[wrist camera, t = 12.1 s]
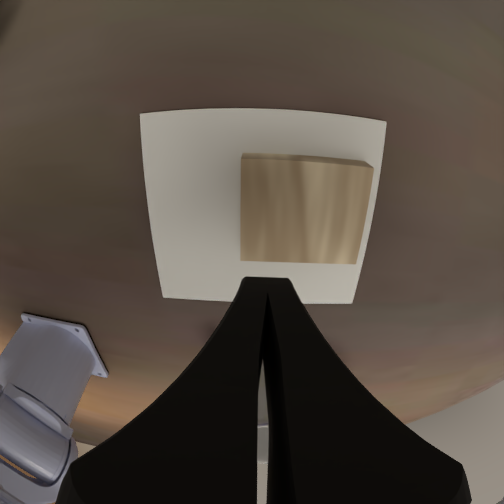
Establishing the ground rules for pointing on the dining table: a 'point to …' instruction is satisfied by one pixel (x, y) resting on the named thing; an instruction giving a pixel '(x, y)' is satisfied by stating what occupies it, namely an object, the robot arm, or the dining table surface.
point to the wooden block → (302, 208)
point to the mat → (229, 194)
